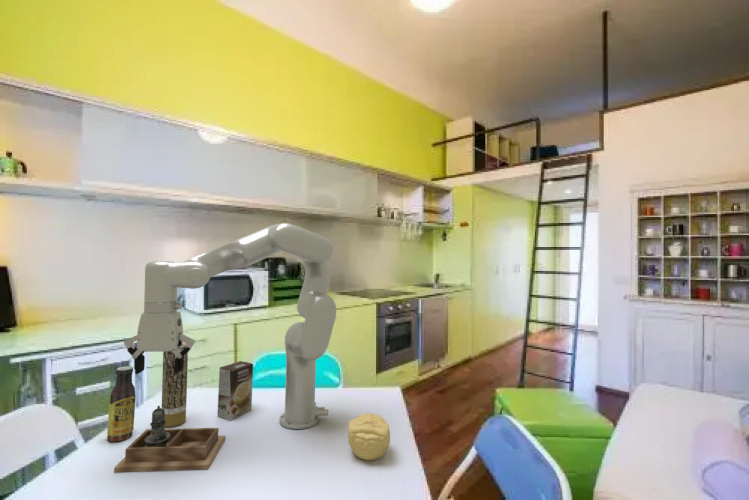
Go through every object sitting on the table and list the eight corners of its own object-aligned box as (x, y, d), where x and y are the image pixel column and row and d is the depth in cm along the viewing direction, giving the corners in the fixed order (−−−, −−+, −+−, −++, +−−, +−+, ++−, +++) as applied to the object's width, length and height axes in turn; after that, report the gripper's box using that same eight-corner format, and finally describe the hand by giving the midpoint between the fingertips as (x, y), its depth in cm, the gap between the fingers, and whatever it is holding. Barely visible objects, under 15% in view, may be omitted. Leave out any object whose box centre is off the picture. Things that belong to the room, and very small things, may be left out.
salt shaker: (151, 444, 97) (152, 400, 97) (174, 444, 98) (175, 400, 98) (139, 457, 91) (140, 410, 91) (163, 456, 92) (164, 410, 92)
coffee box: (230, 421, 114) (232, 371, 114) (216, 416, 117) (218, 367, 117) (252, 410, 122) (253, 363, 123) (238, 405, 125) (240, 360, 125)
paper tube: (190, 418, 115) (192, 341, 115) (176, 428, 108) (179, 346, 108) (170, 416, 116) (173, 340, 116) (155, 427, 109) (158, 345, 109)
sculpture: (343, 463, 93) (345, 422, 93) (353, 439, 105) (354, 403, 105) (387, 468, 92) (388, 427, 92) (391, 444, 104) (392, 406, 104)
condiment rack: (225, 439, 103) (225, 424, 103) (207, 469, 89) (208, 451, 89) (144, 441, 101) (145, 425, 101) (113, 472, 87) (114, 454, 87)
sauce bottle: (112, 445, 99) (115, 373, 99) (102, 438, 102) (104, 369, 102) (138, 435, 104) (140, 367, 104) (128, 429, 107) (130, 363, 107)
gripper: (200, 305, 99) (198, 367, 99) (134, 305, 97) (132, 367, 97) (189, 310, 92) (187, 376, 92) (117, 309, 90) (115, 377, 90)
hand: (159, 372), depth 95 cm, fingers open, 9 cm apart
